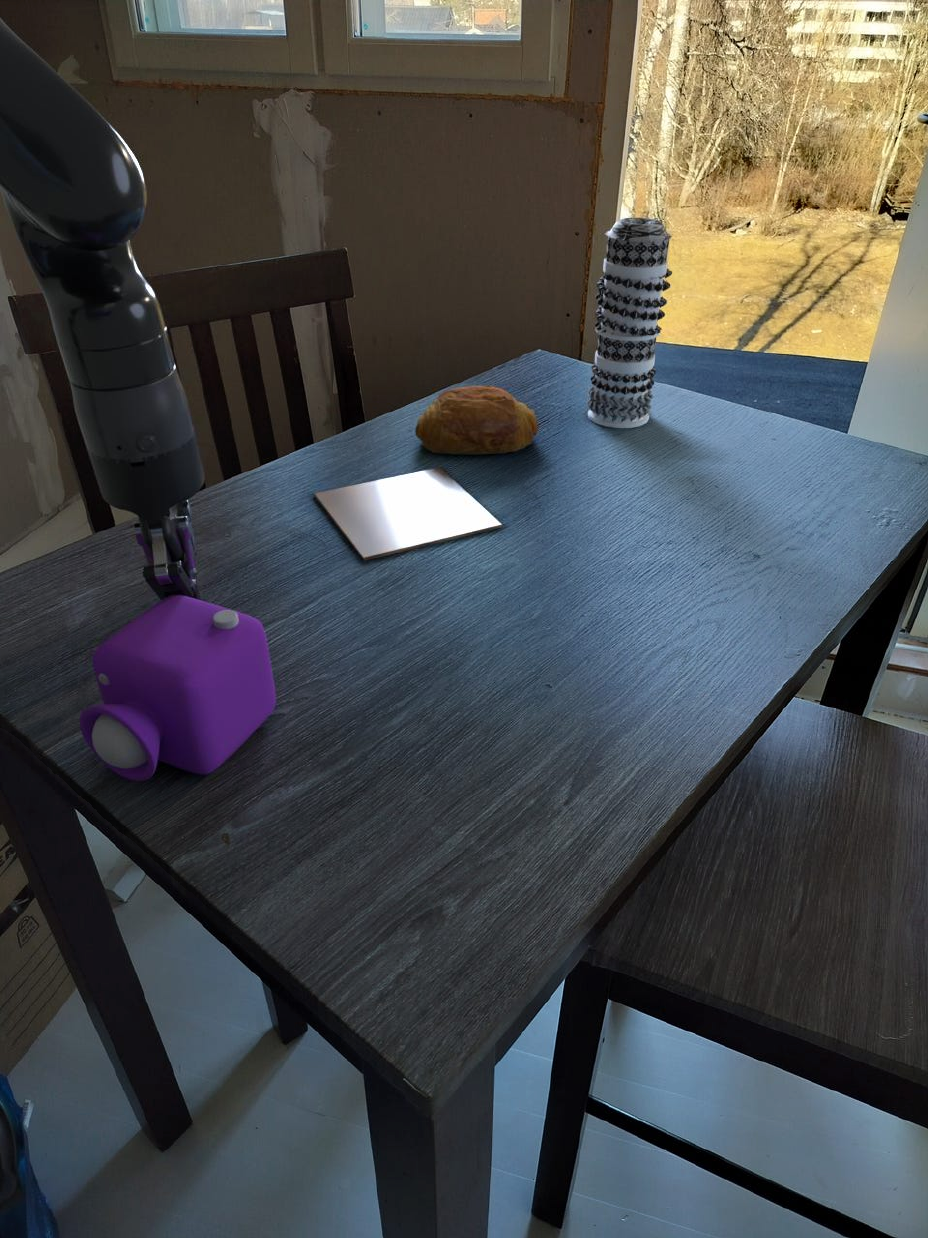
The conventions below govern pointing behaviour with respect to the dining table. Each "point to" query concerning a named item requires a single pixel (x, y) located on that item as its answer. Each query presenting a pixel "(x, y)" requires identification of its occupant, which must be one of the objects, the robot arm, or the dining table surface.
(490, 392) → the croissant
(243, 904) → the dining table surface
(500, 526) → the square metal plate
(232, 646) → the toy camera
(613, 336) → the decorative candle
